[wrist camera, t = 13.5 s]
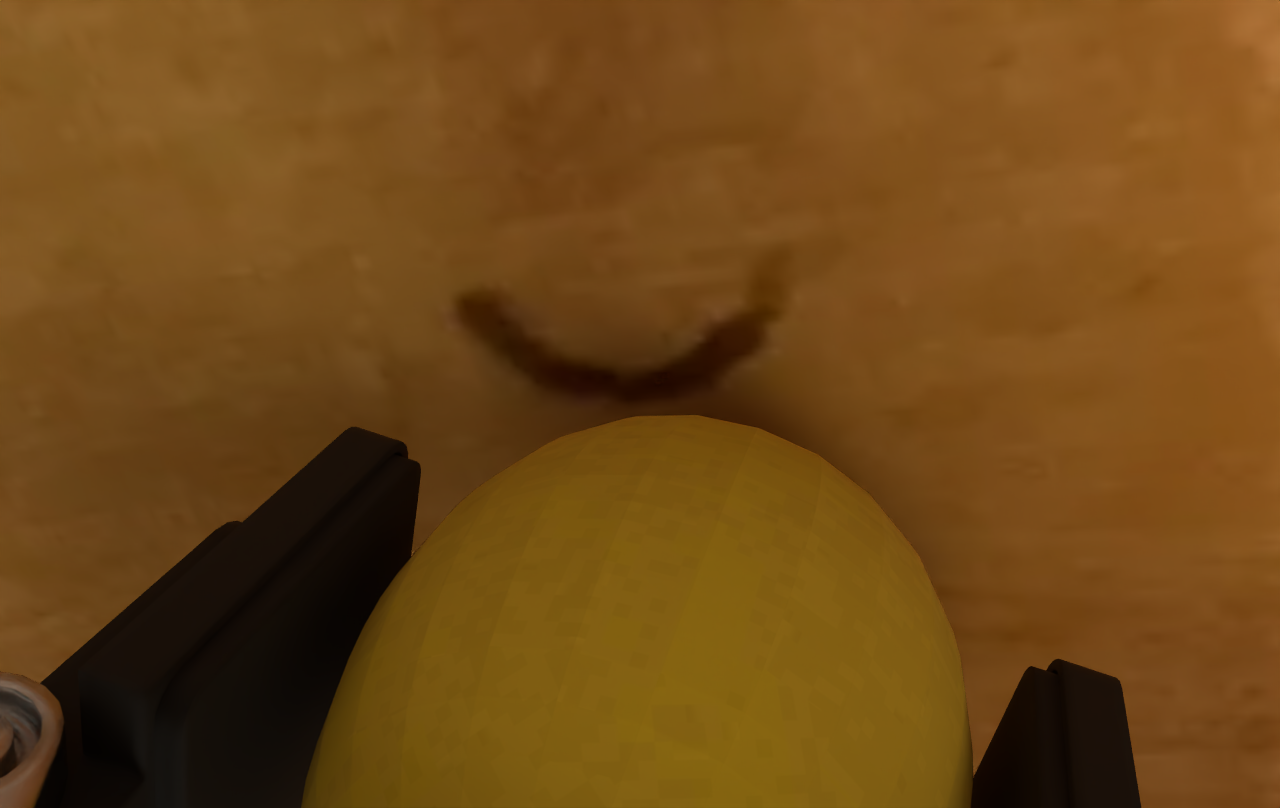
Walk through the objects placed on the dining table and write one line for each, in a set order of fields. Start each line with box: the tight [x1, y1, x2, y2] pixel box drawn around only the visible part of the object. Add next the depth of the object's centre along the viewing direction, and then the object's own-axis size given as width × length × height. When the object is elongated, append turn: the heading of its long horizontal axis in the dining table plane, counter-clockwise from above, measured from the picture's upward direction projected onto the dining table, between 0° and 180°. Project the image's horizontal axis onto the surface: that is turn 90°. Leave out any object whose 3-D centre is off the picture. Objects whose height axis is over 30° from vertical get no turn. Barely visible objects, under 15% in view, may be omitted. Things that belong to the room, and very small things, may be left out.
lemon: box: [301, 415, 973, 808], centre depth 10 cm, size 6×6×8 cm
